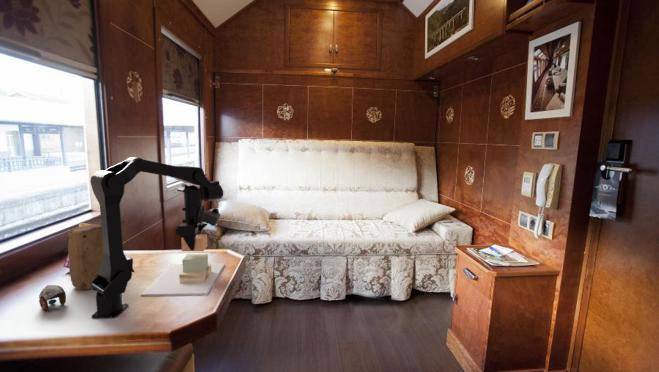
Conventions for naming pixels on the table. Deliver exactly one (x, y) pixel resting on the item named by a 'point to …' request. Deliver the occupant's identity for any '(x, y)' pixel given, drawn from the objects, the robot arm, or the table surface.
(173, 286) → the baseplate
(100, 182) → the robot arm
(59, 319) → the table surface
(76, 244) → the block
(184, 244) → the terracotta block
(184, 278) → the foundation slab
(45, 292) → the helmet
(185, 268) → the sage block
